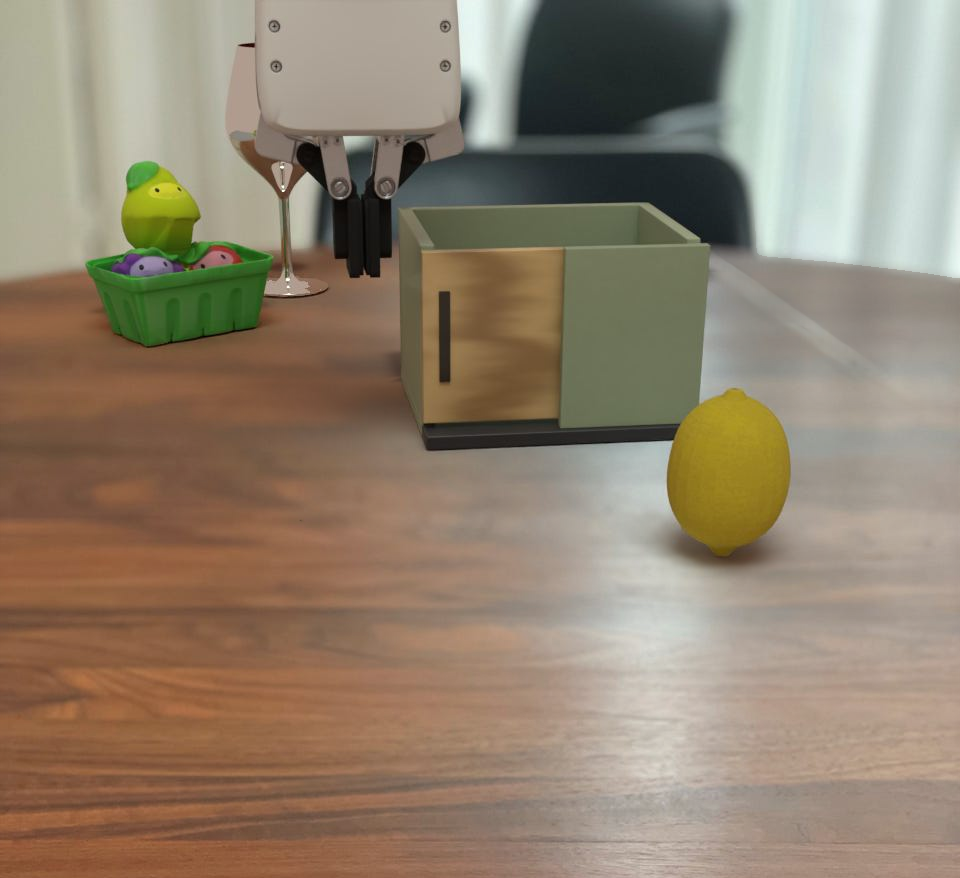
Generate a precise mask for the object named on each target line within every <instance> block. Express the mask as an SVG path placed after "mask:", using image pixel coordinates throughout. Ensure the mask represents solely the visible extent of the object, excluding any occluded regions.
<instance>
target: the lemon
mask: <svg viewBox="0 0 960 878" xmlns="http://www.w3.org/2000/svg"><path fill="white" fill-rule="evenodd" d="M672 441H673V442H672V445H671V448H670V452H669V458H668V461H667V468H666V469H667V470H666V492H667V499H668V502H669V506H670V509H671V511H672V514H673V515H674V518H675V519H676V521H677V523H678V524H679V526H680V527H681V528H682V530H684V532H686V534H687V535H689V536H690V537H692V538H693V539H694V540H696V541H698V542H699V543H701V544H704V545H706V546H707V547H708V548H709V549H710V551H711V552H712V553H713V554H714V555H715V556H718V557H728V556H729V555H730V554H732V553H733V552H734V551H735V550H736V549H737V548H739V547H743V546H746V545H749V544H751V543H754V542H755V541H758V540H759V539H760V538H761V537H763V536H764V535H765V534H766V533H767V532H769V531H770V529H772V528H773V527H774V525H775V523H776V522H777V521H778V520H779V518H780V516H781V514H782V512H783V509H784V507H785V504H786V501H787V497H788V493H789V490H790V483H791V473H792V470H791V467H792V466H791V463H792V462H791V453H790V447H789V443H788V438H787V435H786V432H785V430H784V427H783V425H782V423H781V422H780V420H779V418H778V417H777V416H776V414H775V413H774V412H773V411H772V410H771V409H770V408H769V407H767V405H765V404H764V403H762V402H760V401H759V400H757V399H755V398H753V397H751V396H748V395H747V394H746V393H745V391H744V390H743V389H742V388H737V387H730V388H727V389H726V391H724V393H722V394H720V395H716V396H713V397H710V398H708V399H706V400H704V401H703V402H701V403H699V405H698V406H697V407H695V408H694V409H693V410H692V411H691V412H690V413H689V414H688V415H687V416H686V417H685V418H684V420H683V421H682V423H681V424H680V426H679V428H678V430H677V433H676V435H675V438H674V440H672Z"/></svg>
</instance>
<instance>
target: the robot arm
mask: <svg viewBox="0 0 960 878" xmlns="http://www.w3.org/2000/svg"><path fill="white" fill-rule="evenodd" d="M254 43H255V73H256V89H257V98H258V105H259V109H260V115H259V120H258V126H257V131H256V137H255V150H256V152H257V153H258V154H259V155H260V156H262V157H265V158H269V159H274V160H278V161H282V162H286V163H290V164H291V163H292V164H296V165H300V166H302V167H303V168H304V169H305V170H306V171H307V172H306V173H308V174H309V175H310V176H311V177H312V178H313V179H314V180H315V181H316V182H317V183H319V185H320V186H321V187H322V188H324V190H326V192H327V193H328V194H329V195H330V196H331V212H332V214H331V215H332V242H333V246H332V247H333V257H334V260H345V264H346V265H345V266H346V270H347V274H348V277H349V278H350V279H360V278H361V276H364V273H365V275H366V276H369V279H370V278H371V279H372V278H373V279H375V278H376V279H379V278H381V259H392V257H393V226H392V225H393V223H392V222H393V221H392V218H393V217H392V199H393V198H394V197H395V196H396V195H397V193H398V190H399V189H400V188H401V187H402V185H404V184H405V183H406V182H407V180H408V179H410V177H411V176H412V175H413V174H414V173H415V172H416V171H417V170H418V169H419V168H420V166H421V165H424V164H427V163H433V162H436V161H440V160H444V159H447V158H451V157H455V156H458V155H460V154H462V153H463V152H464V151H465V147H466V141H465V137H464V133H463V127H462V123H461V119H460V112H461V102H462V70H461V69H462V68H461V67H462V66H461V46H460V27H459V11H458V0H254ZM291 135H293V136H291ZM295 136H317V139H318V144H319V146H318V145H317V144H316V143H315V142H313V141H312V140H309V139H301V138H297V137H295ZM406 136H417V137H413V138H406ZM344 137H374V142H373V151H372V157H371V165H370V166H371V167H370V175H369V177H368V179H366V180H365V182H364V188H365V189H364V191H363V193H361V194H360V195H359V194H358V187H357V184H356V182H355V181H354V180H353V179H352V178H351V175H350V169H349V163H348V158H347V151H346V147H345V140H344Z"/></svg>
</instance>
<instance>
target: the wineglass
mask: <svg viewBox="0 0 960 878" xmlns="http://www.w3.org/2000/svg"><path fill="white" fill-rule="evenodd" d="M224 113H225V114H224V126H225V133H226V135H227V138H228V140H229V143H230V145H231V146H232V148H233V149H234V151H235V152H236V153H237V155H238V156H239V157H240V158H241V159H242V160H243V162H245V163H246V164H247V165H248V166H249V167H250V168H251V169H253V170H254V171H255V172H256V173H257V174H258V175H259V176H261V178H263V179H264V180H265V181H266V182H267V183H268V184H269V186H271V188H272V189H273V191H274V192H275V194H276V196H277V199H278V212H279V230H280V252H281V269H280V270H281V271H280V276H279V277H280V278H279V279H278V280H277V281H272V280H269V281H267V282H266V286H265V291H264V294H265V295H279V296H280V295H298V294H305V293H310V291H308V290H307V289H305V288H308V287H310V286H309V285H308V282H305V281H299V280H298V279H297V278H296V277H297V276H296V275H295V273H294V266H293V255H292V253H293V252H292V239H291V218H290V216H291V215H290V196H291V193H292V192H293V189H294V188H295V186H296V185H297V184H298V183H299V181H300V180H301V179H302V178H303V177H304V176H305V175H306V173H308V172H307V171H306V170H305V169H304V168H303V167H302V166H300V165H296V164H292V163H291V164H290V163H286V162H282V161H278V160H274V159H269V158H265V157H262V156H260V155H259V154H258V153H257V152H256V150H255V137H256V131H257V126H258V120H259V115H260V109H259V105H258V98H257V89H256V73H255V42H245V43H244V42H243V43H239V44H236V49H235V53H234V59H233V64H232V69H231V74H230V79H229V86H228V91H227V97H226V104H225V112H224ZM291 136H293V135H291ZM295 137H297V138H301V139H309V140H312V141H313V142H315V143H316V144H317V145H318V146H319V144H318V139H317V136H295ZM320 290H321V289H320Z"/></svg>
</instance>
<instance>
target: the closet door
mask: <svg viewBox="0 0 960 878" xmlns="http://www.w3.org/2000/svg"><path fill="white" fill-rule="evenodd" d="M563 249H564V248H563V247H532V248H492V249H451V250H421V323H422V412H423V422H424V423H450V422H474V421H499V420H524V419H549V418H558V417H559V384H560V350H561V317H562V283H563Z"/></svg>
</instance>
